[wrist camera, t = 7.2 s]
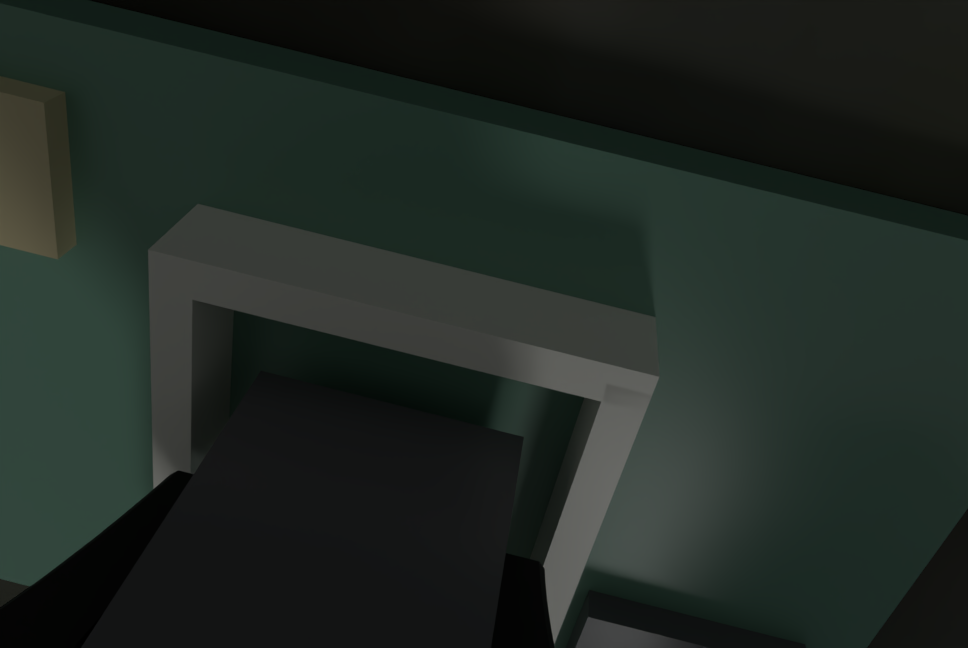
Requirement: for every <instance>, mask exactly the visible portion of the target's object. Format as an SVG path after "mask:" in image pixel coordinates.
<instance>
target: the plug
mask: <svg viewBox="0 0 968 648" xmlns="http://www.w3.org/2000/svg"><path fill="white" fill-rule="evenodd" d="M523 440H524V437H522V436H518V435H514V434H510V433H506V432H502V431H498V430H494V429H490V428H486V427H482V426H478V425H474V424H471V423H467V422H463V421H459V420H455V419H451V418H447V417H443V416H439V415H435V414H431V413H427V412H423V411H419V410H415V409H411V408H407V407H403V406H399V405H395V404H391V403H387V402H383V401H379V400H375V399H371V398H367V397H363V396H359V395H356V394H352V393H348V392H344V391H340V390H336V389H332V388H328V387H324V386H320V385H316V384H312V383H308V382H304V381H300V380H296V379H292V378H288V377H284V376H280V375H276V374H272V373H268V372H264V371H260V373H259V374H258V376H257V377H256V379H255V380H254V382H253V383H252V385H251V386H250V388H249V390H248V391H247V393H246V394H245V396H244V397H243V399H242V400H241V402H240V403H239V405H238V406H237V408H236V410H235V411H234V413H233V414H232V416H231V417H230V419H229V420H228V422H227V423H226V425H225V427H224V428H223V430H222V431H221V433H220V434H219V436H218V437H217V439H216V440H215V442H214V443H213V445H212V447H211V448H210V450H209V451H208V453H207V454H206V456H205V457H204V459H203V460H202V462H201V464H200V465H199V467H198V468H197V470H196V471H195V473H194V474H193V476H192V477H191V479H190V480H189V482H188V484H187V485H186V487H185V488H184V490H183V491H182V493H181V494H180V496H179V497H178V499H177V501H176V502H175V504H174V505H173V507H172V508H171V510H170V511H169V513H168V514H167V516H166V517H165V519H164V521H163V522H162V524H161V525H160V527H159V528H158V530H157V531H156V533H155V534H154V536H153V538H152V539H151V541H150V542H149V544H148V545H147V547H146V548H145V550H144V551H143V553H142V554H141V556H140V558H139V559H138V561H137V562H136V564H135V565H134V567H133V568H132V570H131V571H130V573H129V575H128V576H127V578H126V579H125V581H124V582H123V584H122V585H121V587H120V588H119V590H118V591H117V593H116V595H115V596H114V598H113V599H112V601H111V602H110V604H109V605H108V607H107V608H106V610H105V611H104V613H103V615H102V616H101V618H100V619H99V621H98V622H97V624H96V625H95V627H94V628H93V630H92V632H91V633H90V635H89V636H88V638H87V639H86V641H85V642H84V644H83V645H82V647H81V648H491V644H492V638H493V631H494V625H495V618H496V612H497V606H498V599H499V593H500V587H501V580H502V574H503V567H504V561H505V555H506V548H507V542H508V535H509V529H510V523H511V516H512V510H513V503H514V497H515V491H516V484H517V478H518V471H519V465H520V459H521V452H522V446H523Z"/></svg>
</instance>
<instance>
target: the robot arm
mask: <svg viewBox="0 0 968 648" xmlns="http://www.w3.org/2000/svg"><path fill="white" fill-rule="evenodd" d="M192 476H193V474H191V473H187V472H183V471H179V470H178V471H176V472H174V473H172V474H170V475H169V476H168V477H167V478H166V479H165V480H163V481H162V482H161V483H160V484H159V485H158V486H156V487H155V488H154V489H153V490H152V491H151V492H149V493H148V494H147V495H146V496H145V497H143V498H142V499H141V500H140V501H139V502H138V503H136V504H135V505H134V506H133V507H132V508H130V509H129V510H128V511H127V512H126V513H124V514H123V515H122V516H121V517H120V518H118V519H117V520H116V521H115V522H113V523H112V524H111V525H110V526H108V527H107V528H106V529H105V530H103V531H102V532H101V533H100V534H98V535H97V536H96V537H95V538H93V539H92V540H91V541H90V542H88V543H87V544H86V545H84V546H83V547H82V548H80V549H79V550H78V551H77V552H75V553H74V554H73V555H71V556H70V557H69V558H67V559H66V560H65V561H64V562H62V563H61V564H60V565H58V566H57V567H56V568H54V569H53V570H52V571H51V572H49V573H48V574H47V575H45V576H44V577H43V578H41V579H40V580H38V581H37V582H36V583H34V584H33V585H31V586H30V587H29V588H27V589H26V590H24V591H23V592H22V593H20V594H19V595H17V596H16V597H14V598H13V599H12V600H10V601H9V602H7V603H6V604H4V605H3V606H2V607H0V648H81V647H82V645H83V644H84V642H85V641H86V639H87V638H88V636H89V635H90V633H91V632H92V630H93V628H94V627H95V625H96V624H97V622H98V621H99V619H100V618H101V616H102V615H103V613H104V611H105V610H106V608H107V607H108V605H109V604H110V602H111V601H112V599H113V598H114V596H115V595H116V593H117V591H118V590H119V588H120V587H121V585H122V584H123V582H124V581H125V579H126V578H127V576H128V575H129V573H130V571H131V570H132V568H133V567H134V565H135V564H136V562H137V561H138V559H139V558H140V556H141V554H142V553H143V551H144V550H145V548H146V547H147V545H148V544H149V542H150V541H151V539H152V538H153V536H154V534H155V533H156V531H157V530H158V528H159V527H160V525H161V524H162V522H163V521H164V519H165V517H166V516H167V514H168V513H169V511H170V510H171V508H172V507H173V505H174V504H175V502H176V501H177V499H178V497H179V496H180V494H181V493H182V491H183V490H184V488H185V487H186V485H187V484H188V482H189V480H190V479H191V477H192ZM491 648H555V646H554V641H553V635H552V630H551V624H550V617H549V610H548V603H547V594H546V583H545V569H544V567H543V566H542V564H541V563H540V562H539V561H536V560H532V559H528V558H524V557H520V556H516V555H512V554H508V553H506V555H505V561H504V567H503V574H502V580H501V587H500V593H499V599H498V606H497V612H496V618H495V625H494V631H493V638H492V644H491Z"/></svg>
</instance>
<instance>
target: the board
mask: <svg viewBox="0 0 968 648" xmlns="http://www.w3.org/2000/svg"><path fill="white" fill-rule="evenodd" d="M260 371H264V372H268V373H272V374H276V375H280V376H284V377H288V378H292V379H296V380H300V381H304V382H308V383H312V384H316V385H320V386H324V387H328V388H332V389H336V390H340V391H344V392H348V393H352V394H356V395H359V396H363V397H367V398H371V399H375V400H379V401H383V402H387V403H391V404H395V405H399V406H403V407H407V408H411V409H415V410H419V411H423V412H427V413H431V414H435V415H439V416H443V417H447V418H451V419H455V420H459V421H463V422H467V423H471V424H474V425H478V426H482V427H486V428H490V429H494V430H498V431H502V432H506V433H510V434H514V435H518V436H522V437H524V440H523V446H522V452H521V459H520V465H519V471H518V478H517V484H516V491H515V497H514V503H513V510H512V516H511V523H510V529H509V535H508V542H507V548H506V553H508V554H512V555H516V556H520V557H524V558H528V559H532V560H536V561H539V562H540V563H541V564H542V566H543V567H544V569H545V583H546V594H547V603H548V610H549V617H550V624H551V630H552V635H553V641H554V646H555V648H867V647H868V646H869V644H870V643H871V641H872V640H873V639H874V637H875V636H876V635H877V633H878V632H879V630H880V629H881V628H882V626H883V625H884V623H885V622H886V621H887V619H888V618H889V617H890V615H891V614H892V612H893V611H894V610H895V608H896V607H897V606H898V604H899V603H900V601H901V600H902V599H903V597H904V596H905V594H906V593H907V592H908V590H909V589H910V588H911V586H912V585H913V583H914V582H915V581H916V579H917V578H918V576H919V575H920V574H921V572H922V571H923V570H924V568H925V567H926V565H927V564H928V563H929V561H930V560H931V559H932V557H933V556H934V554H935V553H936V552H937V550H938V549H939V547H940V546H941V545H942V543H943V542H944V541H945V539H946V538H947V536H948V535H949V534H950V532H951V531H952V530H953V528H954V527H955V525H956V524H957V523H958V521H959V520H960V518H961V517H962V516H963V514H964V513H965V512H966V510H967V509H968V215H964V214H959V213H955V212H951V211H947V210H943V209H939V208H935V207H931V206H927V205H923V204H919V203H915V202H910V201H906V200H902V199H898V198H894V197H890V196H886V195H882V194H878V193H874V192H870V191H866V190H861V189H857V188H853V187H849V186H845V185H841V184H837V183H833V182H829V181H825V180H821V179H817V178H812V177H808V176H804V175H800V174H796V173H792V172H788V171H784V170H780V169H776V168H772V167H768V166H763V165H759V164H755V163H751V162H747V161H743V160H739V159H735V158H731V157H727V156H723V155H719V154H714V153H710V152H706V151H702V150H698V149H694V148H690V147H686V146H682V145H678V144H674V143H670V142H665V141H661V140H657V139H653V138H649V137H645V136H641V135H637V134H633V133H629V132H625V131H621V130H616V129H612V128H608V127H604V126H600V125H596V124H592V123H588V122H584V121H580V120H576V119H572V118H567V117H563V116H559V115H555V114H551V113H547V112H543V111H539V110H535V109H531V108H527V107H523V106H518V105H514V104H510V103H506V102H502V101H498V100H494V99H490V98H486V97H482V96H478V95H474V94H469V93H465V92H461V91H457V90H453V89H449V88H445V87H441V86H437V85H433V84H429V83H425V82H420V81H416V80H412V79H408V78H404V77H400V76H396V75H392V74H388V73H384V72H380V71H376V70H371V69H367V68H363V67H359V66H355V65H351V64H347V63H343V62H339V61H335V60H331V59H327V58H322V57H318V56H314V55H310V54H306V53H302V52H298V51H294V50H290V49H286V48H282V47H278V46H273V45H269V44H265V43H261V42H257V41H253V40H249V39H245V38H241V37H237V36H233V35H229V34H224V33H220V32H216V31H212V30H208V29H204V28H200V27H196V26H192V25H188V24H184V23H180V22H175V21H171V20H167V19H163V18H159V17H155V16H151V15H147V14H143V13H139V12H135V11H131V10H126V9H122V8H118V7H114V6H110V5H106V4H102V3H98V2H94V1H90V0H0V579H3V580H7V581H11V582H15V583H19V584H23V585H27V586H31V585H33V584H34V583H36V582H37V581H38V580H40V579H41V578H43V577H44V576H45V575H47V574H48V573H49V572H51V571H52V570H53V569H54V568H56V567H57V566H58V565H60V564H61V563H62V562H64V561H65V560H66V559H67V558H69V557H70V556H71V555H73V554H74V553H75V552H77V551H78V550H79V549H80V548H82V547H83V546H84V545H86V544H87V543H88V542H90V541H91V540H92V539H93V538H95V537H96V536H97V535H98V534H100V533H101V532H102V531H103V530H105V529H106V528H107V527H108V526H110V525H111V524H112V523H113V522H115V521H116V520H117V519H118V518H120V517H121V516H122V515H123V514H124V513H126V512H127V511H128V510H129V509H130V508H132V507H133V506H134V505H135V504H136V503H138V502H139V501H140V500H141V499H142V498H143V497H145V496H146V495H147V494H148V493H149V492H151V491H152V490H153V489H154V488H155V487H156V486H158V485H159V484H160V483H161V482H162V481H163V480H165V479H166V478H167V477H168V476H169V475H170V474H172V473H174V472H176V471H178V470H179V471H183V472H187V473H191V474H194V473H195V471H196V470H197V468H198V467H199V465H200V464H201V462H202V460H203V459H204V457H205V456H206V454H207V453H208V451H209V450H210V448H211V447H212V445H213V443H214V442H215V440H216V439H217V437H218V436H219V434H220V433H221V431H222V430H223V428H224V427H225V425H226V423H227V422H228V420H229V419H230V417H231V416H232V414H233V413H234V411H235V410H236V408H237V406H238V405H239V403H240V402H241V400H242V399H243V397H244V396H245V394H246V393H247V391H248V390H249V388H250V386H251V385H252V383H253V382H254V380H255V379H256V377H257V376H258V374H259V373H260Z"/></svg>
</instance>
